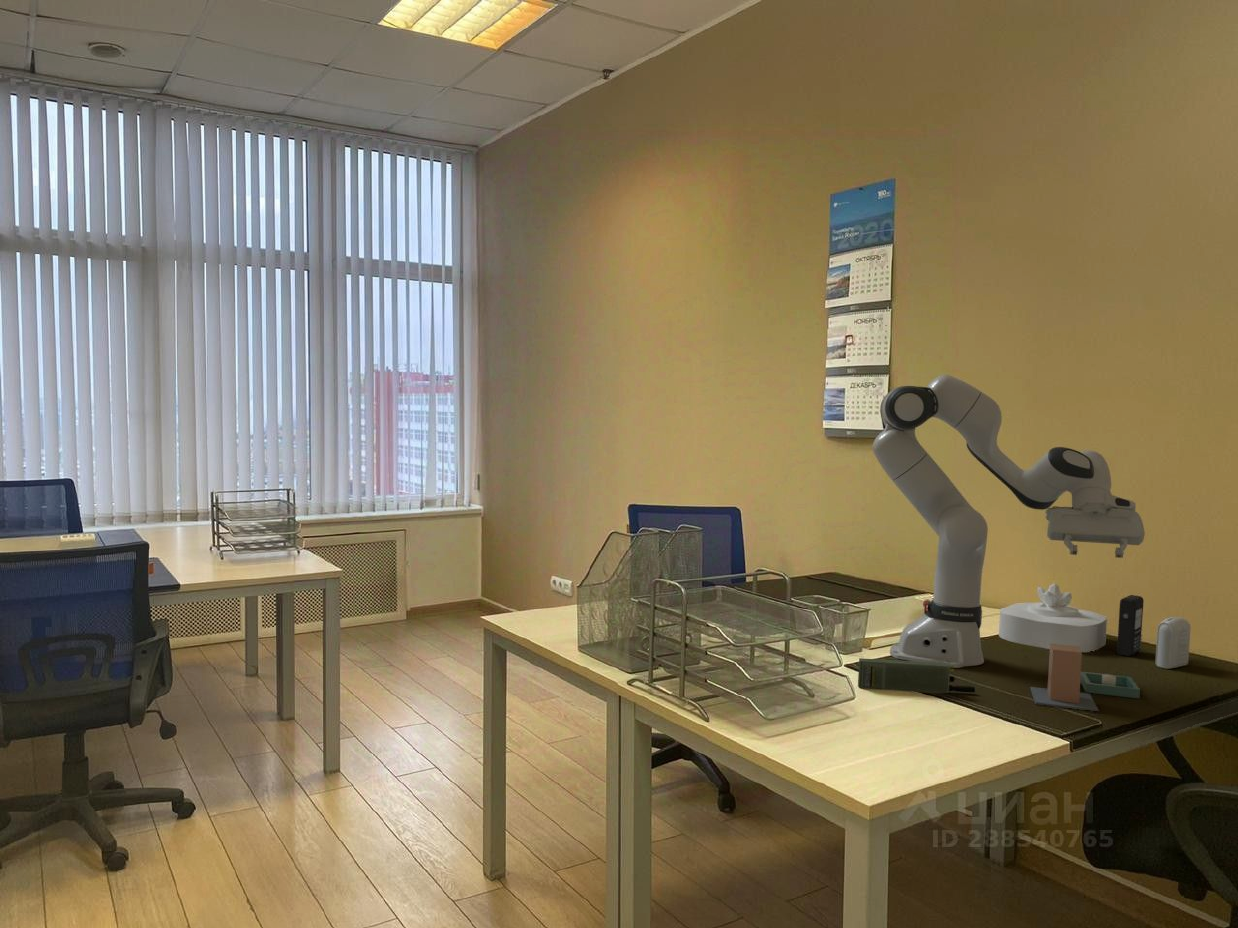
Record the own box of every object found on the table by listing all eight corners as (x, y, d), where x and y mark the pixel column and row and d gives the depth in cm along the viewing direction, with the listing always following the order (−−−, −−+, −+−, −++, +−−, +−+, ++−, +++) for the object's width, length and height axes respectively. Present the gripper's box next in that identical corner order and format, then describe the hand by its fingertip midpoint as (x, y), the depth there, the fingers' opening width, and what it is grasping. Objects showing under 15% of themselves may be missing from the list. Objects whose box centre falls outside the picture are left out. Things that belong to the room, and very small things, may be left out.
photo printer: (1172, 661, 235) (1175, 613, 234) (1190, 665, 231) (1193, 617, 231) (1152, 666, 229) (1155, 617, 229) (1170, 670, 226) (1173, 621, 225)
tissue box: (1086, 656, 238) (1089, 595, 237) (989, 638, 254) (992, 581, 254) (1113, 641, 256) (1116, 584, 255) (1021, 625, 273) (1024, 571, 272)
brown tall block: (1050, 699, 197) (1053, 649, 196) (1047, 692, 202) (1050, 643, 202) (1079, 703, 195) (1082, 652, 194) (1075, 695, 200) (1078, 646, 200)
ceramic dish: (1086, 692, 205) (1086, 679, 205) (1079, 679, 215) (1079, 667, 215) (1139, 698, 202) (1140, 685, 201) (1129, 685, 212) (1130, 672, 211)
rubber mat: (1035, 704, 195) (1035, 702, 195) (1030, 688, 206) (1030, 686, 206) (1098, 712, 191) (1098, 709, 191) (1089, 695, 202) (1089, 693, 202)
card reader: (1132, 658, 237) (1135, 600, 236) (1115, 654, 240) (1118, 598, 239) (1142, 652, 243) (1145, 596, 242) (1125, 649, 246) (1129, 593, 245)
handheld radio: (857, 685, 206) (972, 692, 203) (859, 690, 202) (976, 697, 200) (858, 656, 205) (974, 663, 202) (860, 661, 202) (978, 668, 199)
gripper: (1046, 497, 220) (1048, 543, 212) (1142, 502, 213) (1148, 549, 205) (1043, 514, 225) (1045, 559, 216) (1138, 519, 218) (1143, 566, 209)
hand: (1096, 554), depth 210 cm, fingers open, 8 cm apart
